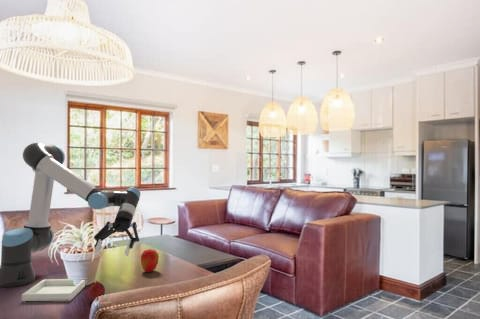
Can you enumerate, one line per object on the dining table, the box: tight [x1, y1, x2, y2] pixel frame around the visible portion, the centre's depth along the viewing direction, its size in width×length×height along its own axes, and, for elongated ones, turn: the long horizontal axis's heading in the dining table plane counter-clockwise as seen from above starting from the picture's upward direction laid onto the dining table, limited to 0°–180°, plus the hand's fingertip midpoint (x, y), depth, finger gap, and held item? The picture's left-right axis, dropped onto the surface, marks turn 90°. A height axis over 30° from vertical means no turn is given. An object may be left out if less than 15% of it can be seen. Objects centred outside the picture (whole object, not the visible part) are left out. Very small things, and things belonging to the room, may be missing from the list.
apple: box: [140, 249, 160, 273], centre depth 172 cm, size 9×9×12 cm
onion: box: [88, 279, 106, 300], centre depth 132 cm, size 6×6×8 cm
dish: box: [21, 278, 86, 303], centre depth 139 cm, size 18×18×3 cm
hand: (110, 254), depth 144 cm, fingers open, 13 cm apart
